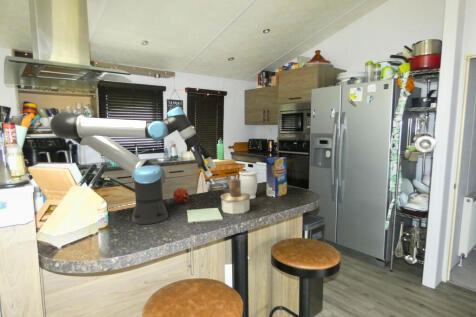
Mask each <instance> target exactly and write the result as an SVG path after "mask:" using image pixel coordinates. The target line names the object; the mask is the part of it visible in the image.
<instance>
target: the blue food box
mask: <svg viewBox="0 0 476 317" xmlns="http://www.w3.org/2000/svg"><path fill="white" fill-rule="evenodd" d="M265 160H266V161H265V162H266V164H265V166H266V167H265V169H266V171H265V172H266V174H265V175H266V176H265V178H266V183H265V184H266V190H265V191H266V196H267V197H272V196H273V198H277V197H281V196H283V195H287V192H288V191H287V190H288V176H287V172H288V170H287V168H288V165H287V164H288V157H282V156H274V157H268V158H266V159H265Z"/></svg>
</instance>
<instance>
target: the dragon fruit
mask: <svg viewBox="0 0 476 317" xmlns="http://www.w3.org/2000/svg"><path fill="white" fill-rule="evenodd" d="M172 194H173V196H172V197H173V201H174V202H175V203H176V202H177V203H178V204H179V205H181V204H183V203H186V202H187V201H188V200H191V196H190V195H189V193H188V190H187V189H185V188H183V187H179V188H176V190H174V192H173V193H172Z"/></svg>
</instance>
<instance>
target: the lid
mask: <svg viewBox="0 0 476 317" xmlns="http://www.w3.org/2000/svg"><path fill="white" fill-rule="evenodd" d="M220 199H221V201H222V200H224V201H230V202H239V201H245V200H248V199H249V200H251V199H250V195H249V194H247V193H241V180H240V179H239V178H230V179H229V192H225V193H222V194H221V195H220Z"/></svg>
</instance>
